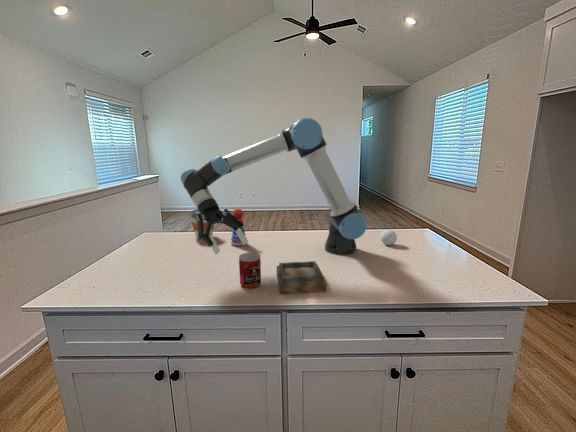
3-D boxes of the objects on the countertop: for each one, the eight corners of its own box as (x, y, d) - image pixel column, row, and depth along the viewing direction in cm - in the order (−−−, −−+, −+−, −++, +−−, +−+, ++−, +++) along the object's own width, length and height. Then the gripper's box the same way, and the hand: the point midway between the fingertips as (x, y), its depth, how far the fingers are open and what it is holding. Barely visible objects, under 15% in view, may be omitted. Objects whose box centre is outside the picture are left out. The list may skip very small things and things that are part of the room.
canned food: (244, 291, 106) (243, 261, 104) (237, 282, 113) (235, 254, 111) (264, 286, 110) (263, 257, 107) (256, 278, 116) (255, 251, 114)
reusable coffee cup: (189, 236, 172) (187, 210, 169) (210, 232, 179) (208, 207, 176) (197, 241, 162) (195, 214, 159) (219, 237, 170) (218, 211, 166)
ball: (379, 246, 153) (380, 230, 151) (380, 241, 160) (381, 227, 158) (396, 248, 150) (397, 232, 148) (397, 243, 157) (398, 228, 155)
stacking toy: (243, 246, 154) (242, 210, 150) (228, 245, 155) (226, 210, 151) (248, 242, 161) (247, 207, 157) (234, 241, 163) (232, 207, 159)
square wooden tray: (316, 273, 121) (317, 260, 119) (325, 291, 105) (326, 276, 104) (276, 275, 119) (276, 262, 118) (279, 294, 104) (279, 279, 102)
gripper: (226, 204, 131) (252, 244, 125) (173, 214, 112) (200, 262, 106) (234, 193, 127) (261, 234, 121) (180, 202, 108) (208, 250, 102)
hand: (232, 247), depth 113 cm, fingers open, 13 cm apart
